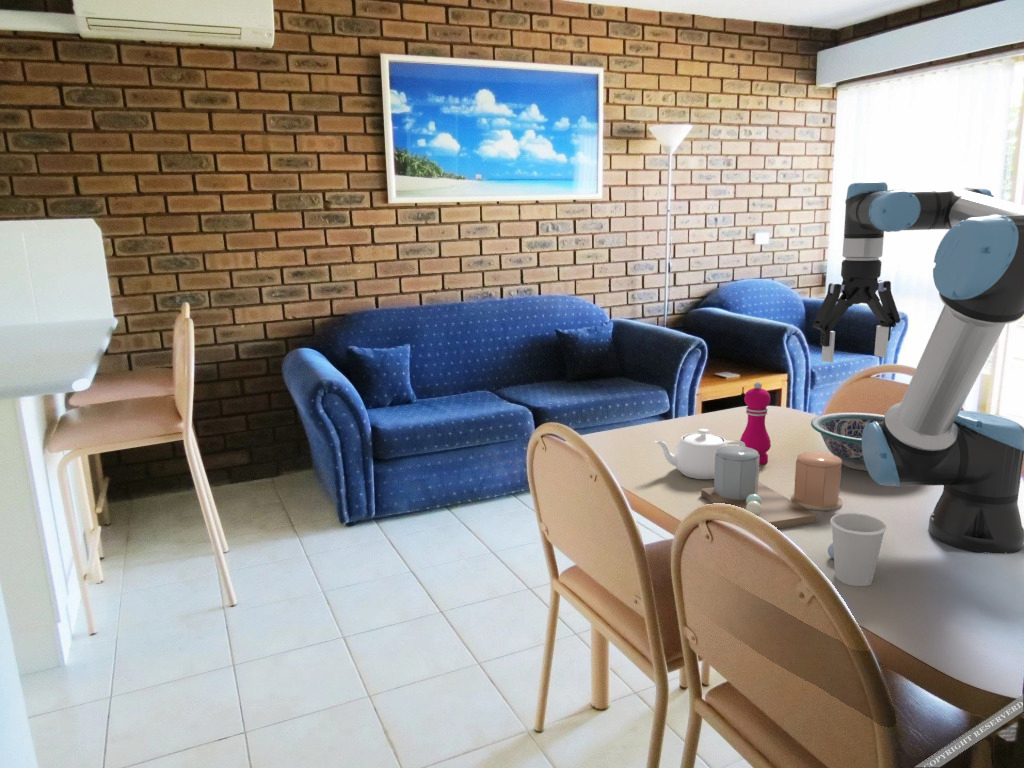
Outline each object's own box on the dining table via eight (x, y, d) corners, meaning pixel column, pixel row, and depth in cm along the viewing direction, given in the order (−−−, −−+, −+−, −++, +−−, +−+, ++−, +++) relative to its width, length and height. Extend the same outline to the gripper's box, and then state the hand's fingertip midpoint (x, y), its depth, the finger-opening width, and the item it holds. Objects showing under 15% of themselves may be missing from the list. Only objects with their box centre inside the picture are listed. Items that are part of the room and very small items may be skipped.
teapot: (733, 461, 182) (735, 419, 179) (755, 480, 169) (757, 435, 166) (646, 466, 180) (646, 424, 178) (661, 486, 167) (662, 440, 165)
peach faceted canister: (847, 503, 153) (850, 462, 151) (812, 508, 150) (815, 467, 148) (820, 489, 161) (822, 450, 158) (786, 494, 158) (788, 454, 156)
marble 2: (764, 502, 144) (748, 501, 144) (763, 517, 143) (748, 516, 143) (759, 500, 147) (744, 500, 147) (758, 515, 146) (743, 515, 146)
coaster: (852, 507, 152) (853, 504, 152) (811, 513, 149) (811, 510, 149) (820, 490, 161) (820, 487, 161) (781, 496, 159) (781, 493, 159)
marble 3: (846, 563, 129) (850, 547, 130) (839, 559, 127) (844, 543, 128) (829, 559, 131) (834, 543, 132) (823, 555, 129) (827, 538, 130)
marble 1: (764, 494, 147) (749, 490, 148) (761, 508, 146) (746, 504, 147) (760, 498, 150) (746, 494, 151) (757, 512, 149) (743, 507, 150)
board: (816, 522, 145) (816, 514, 145) (754, 532, 142) (754, 524, 141) (757, 487, 164) (757, 481, 164) (700, 495, 160) (701, 489, 160)
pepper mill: (765, 456, 185) (769, 378, 180) (773, 465, 178) (777, 385, 173) (736, 456, 185) (739, 378, 181) (742, 465, 178) (745, 385, 174)
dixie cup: (848, 562, 129) (852, 508, 126) (892, 582, 121) (897, 525, 119) (815, 574, 125) (819, 519, 123) (858, 595, 118) (863, 537, 115)
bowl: (837, 484, 165) (840, 443, 163) (792, 449, 189) (794, 414, 187) (946, 480, 165) (951, 439, 163) (887, 446, 190) (890, 410, 188)
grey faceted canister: (764, 496, 155) (766, 455, 153) (729, 501, 153) (730, 460, 151) (741, 482, 163) (743, 444, 161) (707, 487, 161) (709, 448, 159)
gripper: (897, 255, 160) (888, 351, 165) (798, 260, 153) (793, 360, 158) (924, 257, 153) (915, 357, 158) (822, 262, 146) (816, 366, 151)
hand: (854, 359), depth 158 cm, fingers open, 13 cm apart
